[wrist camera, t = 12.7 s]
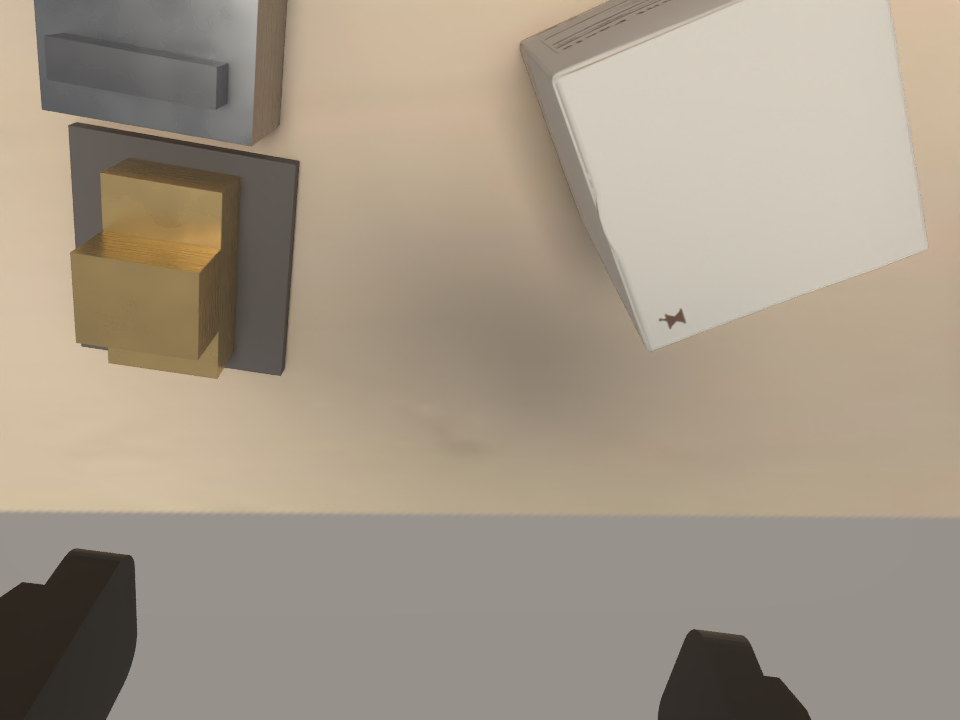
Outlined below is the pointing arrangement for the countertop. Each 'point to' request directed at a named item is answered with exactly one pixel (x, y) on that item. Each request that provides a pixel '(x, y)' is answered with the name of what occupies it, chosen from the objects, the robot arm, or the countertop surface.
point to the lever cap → (161, 269)
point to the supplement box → (731, 150)
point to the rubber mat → (260, 225)
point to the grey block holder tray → (165, 64)
